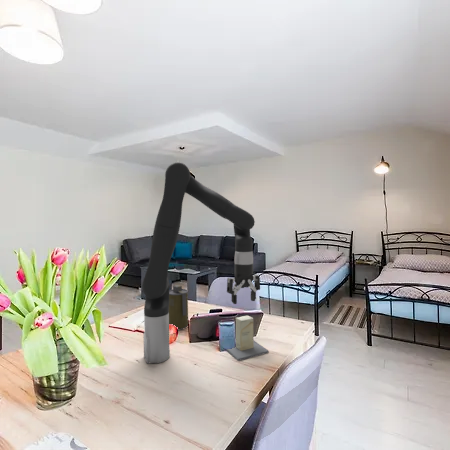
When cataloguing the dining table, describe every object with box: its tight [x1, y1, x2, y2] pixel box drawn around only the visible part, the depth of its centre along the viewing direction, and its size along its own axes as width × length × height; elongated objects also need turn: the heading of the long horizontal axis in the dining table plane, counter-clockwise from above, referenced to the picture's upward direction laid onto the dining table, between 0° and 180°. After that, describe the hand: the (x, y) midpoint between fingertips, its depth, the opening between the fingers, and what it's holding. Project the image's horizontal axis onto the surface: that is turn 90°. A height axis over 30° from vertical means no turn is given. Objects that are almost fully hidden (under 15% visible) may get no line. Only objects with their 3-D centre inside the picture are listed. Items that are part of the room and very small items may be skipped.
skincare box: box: [235, 315, 255, 351], centre depth 118 cm, size 6×4×12 cm
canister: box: [169, 284, 189, 330], centre depth 143 cm, size 11×10×20 cm
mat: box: [226, 340, 270, 362], centre depth 118 cm, size 14×14×1 cm
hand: (243, 302), depth 117 cm, fingers open, 8 cm apart
